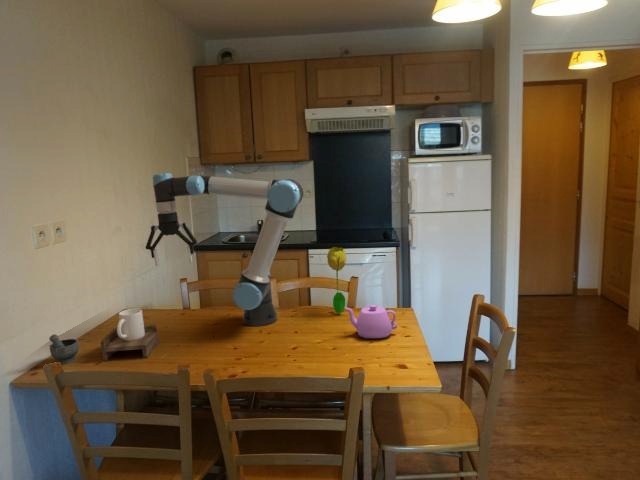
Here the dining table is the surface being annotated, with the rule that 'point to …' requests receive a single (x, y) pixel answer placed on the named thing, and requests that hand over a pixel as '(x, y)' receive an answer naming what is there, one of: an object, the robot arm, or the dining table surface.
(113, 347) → the shelf
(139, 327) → the mug
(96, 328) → the dining table surface
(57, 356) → the mortar and pestle
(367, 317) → the teapot
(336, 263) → the flower
